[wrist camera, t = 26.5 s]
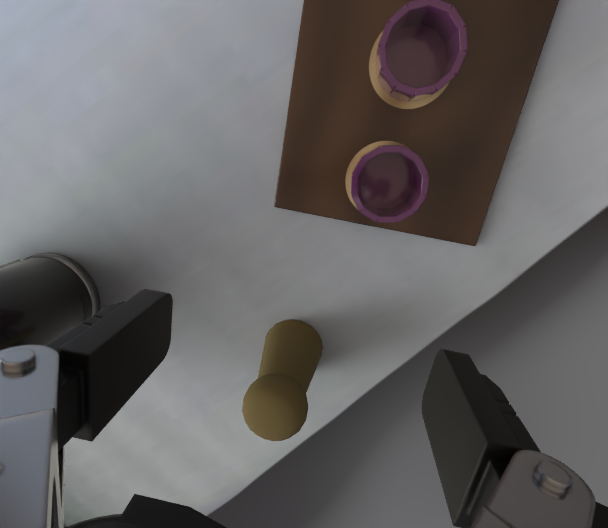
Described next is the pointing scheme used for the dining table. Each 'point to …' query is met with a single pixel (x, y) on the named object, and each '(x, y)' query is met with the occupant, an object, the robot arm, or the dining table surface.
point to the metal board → (407, 112)
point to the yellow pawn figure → (283, 381)
